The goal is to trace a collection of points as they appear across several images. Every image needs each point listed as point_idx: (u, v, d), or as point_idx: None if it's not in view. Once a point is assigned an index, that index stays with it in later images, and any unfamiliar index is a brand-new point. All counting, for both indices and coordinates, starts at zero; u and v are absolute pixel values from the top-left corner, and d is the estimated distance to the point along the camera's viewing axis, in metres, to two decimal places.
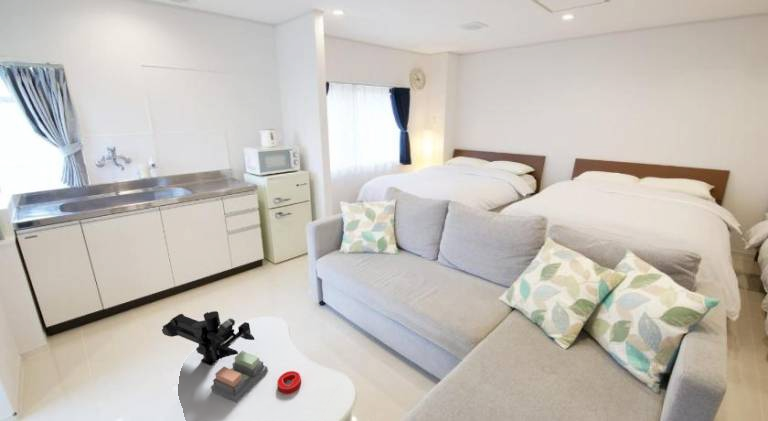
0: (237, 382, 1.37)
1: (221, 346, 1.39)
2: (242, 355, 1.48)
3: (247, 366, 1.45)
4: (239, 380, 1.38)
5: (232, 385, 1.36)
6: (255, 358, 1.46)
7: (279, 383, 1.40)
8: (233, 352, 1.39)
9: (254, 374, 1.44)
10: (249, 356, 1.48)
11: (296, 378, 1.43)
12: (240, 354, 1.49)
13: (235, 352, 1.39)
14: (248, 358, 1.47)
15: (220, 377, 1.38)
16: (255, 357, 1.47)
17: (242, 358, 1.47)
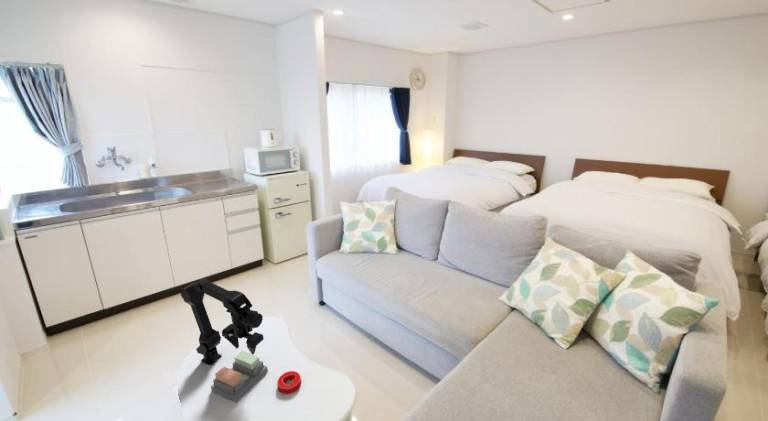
0: (237, 382, 1.37)
1: None
2: (242, 355, 1.48)
3: (247, 366, 1.45)
4: (239, 380, 1.38)
5: (232, 385, 1.36)
6: (255, 358, 1.46)
7: (279, 383, 1.40)
8: (254, 351, 1.43)
9: (254, 374, 1.44)
10: (249, 356, 1.48)
11: (296, 378, 1.43)
12: (240, 354, 1.49)
13: (254, 352, 1.44)
14: (248, 358, 1.47)
15: (220, 377, 1.38)
16: (255, 357, 1.47)
17: (242, 358, 1.47)
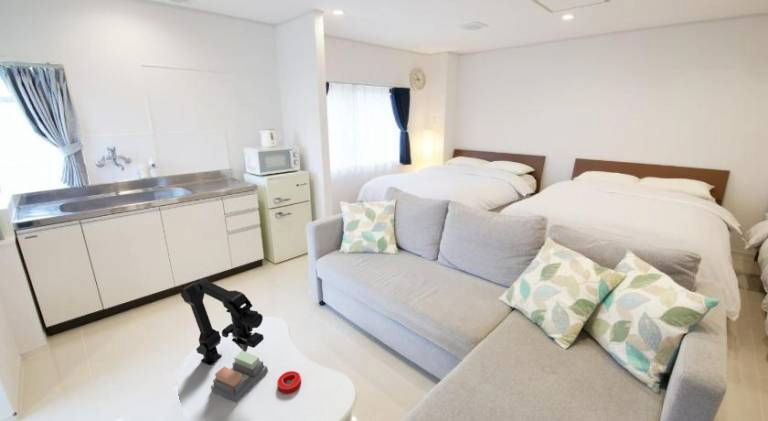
0: (237, 382, 1.37)
1: None
2: (242, 355, 1.48)
3: (247, 366, 1.45)
4: (239, 380, 1.38)
5: (232, 385, 1.36)
6: (255, 358, 1.46)
7: (279, 383, 1.40)
8: (246, 348, 1.45)
9: (254, 374, 1.44)
10: (249, 356, 1.48)
11: (296, 378, 1.43)
12: (240, 354, 1.49)
13: (246, 349, 1.46)
14: (248, 358, 1.47)
15: (220, 377, 1.38)
16: (255, 357, 1.47)
17: (242, 358, 1.47)
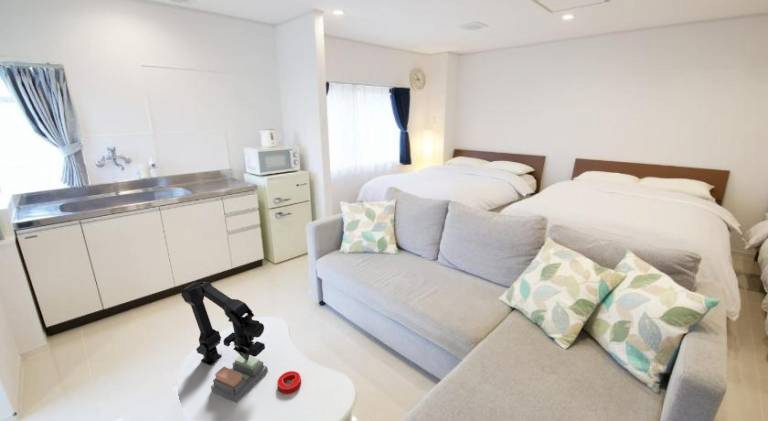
0: (237, 382, 1.37)
1: None
2: (242, 357, 1.49)
3: (247, 368, 1.45)
4: (239, 380, 1.38)
5: (232, 385, 1.36)
6: (255, 360, 1.47)
7: (279, 383, 1.40)
8: (248, 357, 1.47)
9: (254, 374, 1.44)
10: (249, 358, 1.48)
11: (296, 378, 1.43)
12: (240, 356, 1.49)
13: (247, 358, 1.47)
14: (249, 360, 1.47)
15: (220, 377, 1.38)
16: (255, 359, 1.47)
17: (243, 360, 1.47)
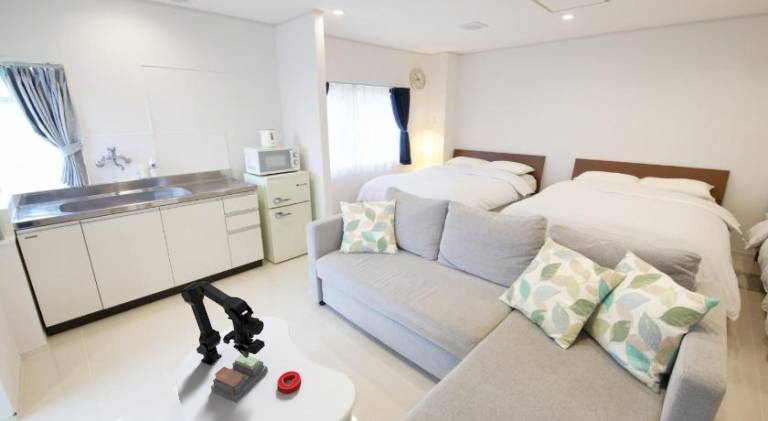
0: (237, 382, 1.37)
1: None
2: (242, 357, 1.49)
3: (247, 368, 1.45)
4: (239, 380, 1.38)
5: (232, 385, 1.36)
6: (255, 360, 1.47)
7: (279, 383, 1.40)
8: (247, 354, 1.46)
9: (254, 374, 1.44)
10: (249, 358, 1.48)
11: (296, 378, 1.43)
12: (240, 356, 1.49)
13: (247, 356, 1.47)
14: (249, 360, 1.47)
15: (220, 377, 1.38)
16: (255, 359, 1.47)
17: (243, 360, 1.47)
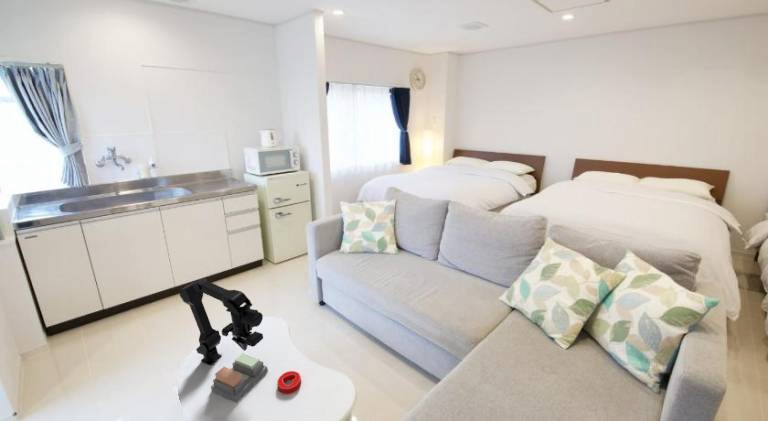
0: (237, 382, 1.37)
1: None
2: (242, 357, 1.49)
3: (247, 368, 1.45)
4: (239, 380, 1.38)
5: (232, 385, 1.36)
6: (255, 360, 1.47)
7: (279, 383, 1.40)
8: (246, 347, 1.46)
9: (254, 374, 1.44)
10: (249, 358, 1.48)
11: (296, 378, 1.43)
12: (240, 356, 1.49)
13: (246, 348, 1.46)
14: (249, 360, 1.47)
15: (220, 377, 1.38)
16: (255, 359, 1.47)
17: (243, 360, 1.47)
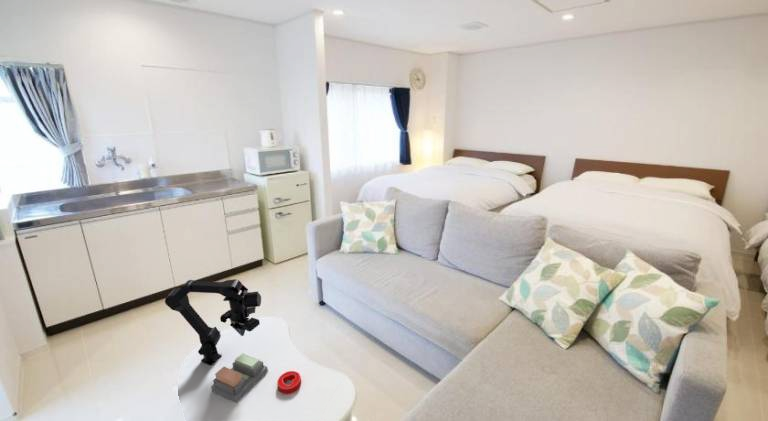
0: (237, 382, 1.37)
1: None
2: (242, 357, 1.49)
3: (247, 368, 1.45)
4: (239, 380, 1.38)
5: (232, 385, 1.36)
6: (255, 360, 1.47)
7: (279, 383, 1.40)
8: (243, 332, 1.55)
9: (254, 374, 1.44)
10: (249, 358, 1.48)
11: (296, 378, 1.43)
12: (240, 356, 1.49)
13: (243, 334, 1.55)
14: (249, 360, 1.47)
15: (220, 377, 1.38)
16: (255, 359, 1.47)
17: (243, 360, 1.47)
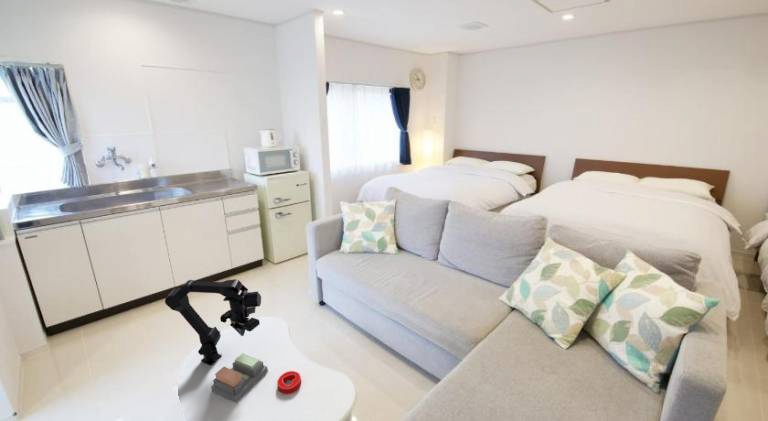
0: (237, 382, 1.37)
1: None
2: (242, 357, 1.49)
3: (247, 368, 1.45)
4: (239, 380, 1.38)
5: (232, 385, 1.36)
6: (255, 360, 1.47)
7: (279, 383, 1.40)
8: (243, 332, 1.55)
9: (254, 374, 1.44)
10: (249, 358, 1.48)
11: (296, 378, 1.43)
12: (240, 356, 1.49)
13: (243, 334, 1.55)
14: (249, 360, 1.47)
15: (220, 377, 1.38)
16: (255, 359, 1.47)
17: (243, 360, 1.47)
